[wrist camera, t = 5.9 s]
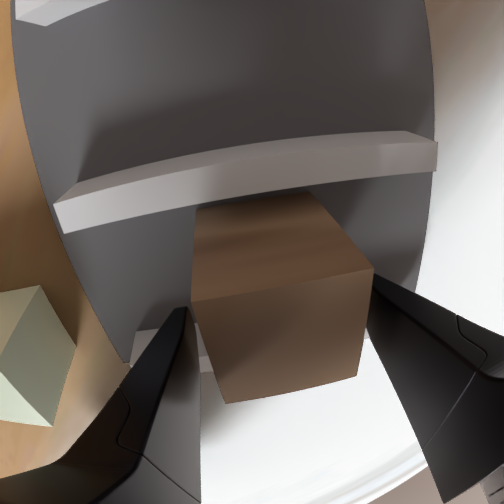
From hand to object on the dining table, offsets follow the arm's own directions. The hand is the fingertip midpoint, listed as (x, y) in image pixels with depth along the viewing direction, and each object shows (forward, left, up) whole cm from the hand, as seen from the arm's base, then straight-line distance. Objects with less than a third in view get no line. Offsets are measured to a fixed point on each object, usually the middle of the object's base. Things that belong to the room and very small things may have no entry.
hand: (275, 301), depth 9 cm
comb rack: (+4, 0, -3) cm, 5 cm away
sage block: (-2, +12, -4) cm, 13 cm away
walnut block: (0, 0, -3) cm, 3 cm away
